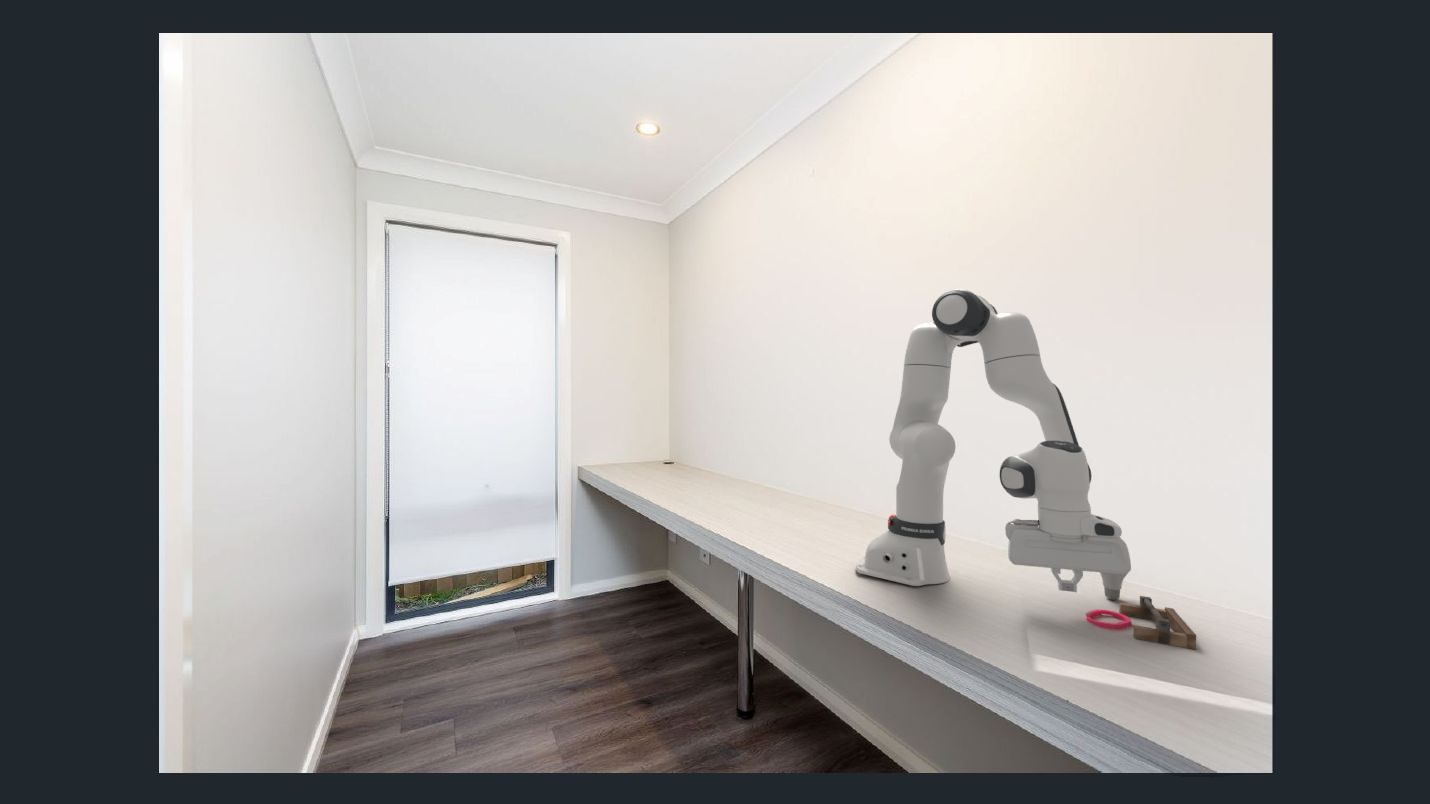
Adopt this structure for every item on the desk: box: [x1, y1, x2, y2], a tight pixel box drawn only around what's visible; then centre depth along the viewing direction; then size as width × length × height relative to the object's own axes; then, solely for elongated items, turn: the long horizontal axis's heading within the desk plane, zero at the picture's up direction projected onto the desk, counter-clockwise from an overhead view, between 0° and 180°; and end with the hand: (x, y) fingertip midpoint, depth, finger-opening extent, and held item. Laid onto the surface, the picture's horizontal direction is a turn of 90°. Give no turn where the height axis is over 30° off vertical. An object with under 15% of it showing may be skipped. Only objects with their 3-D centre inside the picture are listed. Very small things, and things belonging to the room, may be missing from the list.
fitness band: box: [1085, 609, 1132, 631], centre depth 97 cm, size 8×6×2 cm
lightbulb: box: [1099, 572, 1128, 601], centre depth 108 cm, size 6×6×11 cm
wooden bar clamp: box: [1118, 595, 1197, 651], centre depth 93 cm, size 8×13×4 cm, turn 151°
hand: (1067, 590), depth 101 cm, fingers closed
